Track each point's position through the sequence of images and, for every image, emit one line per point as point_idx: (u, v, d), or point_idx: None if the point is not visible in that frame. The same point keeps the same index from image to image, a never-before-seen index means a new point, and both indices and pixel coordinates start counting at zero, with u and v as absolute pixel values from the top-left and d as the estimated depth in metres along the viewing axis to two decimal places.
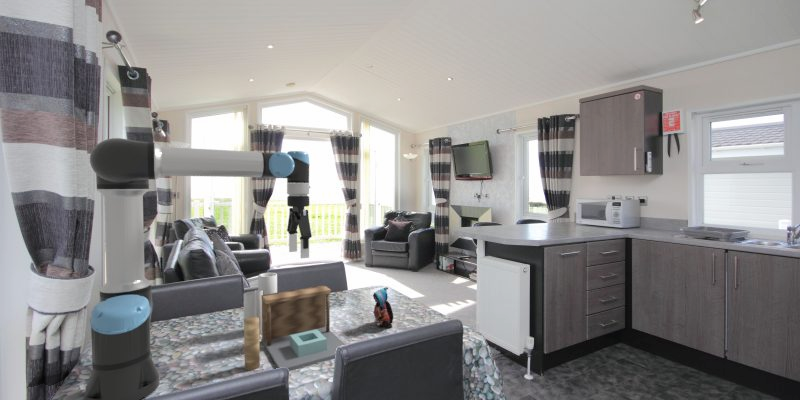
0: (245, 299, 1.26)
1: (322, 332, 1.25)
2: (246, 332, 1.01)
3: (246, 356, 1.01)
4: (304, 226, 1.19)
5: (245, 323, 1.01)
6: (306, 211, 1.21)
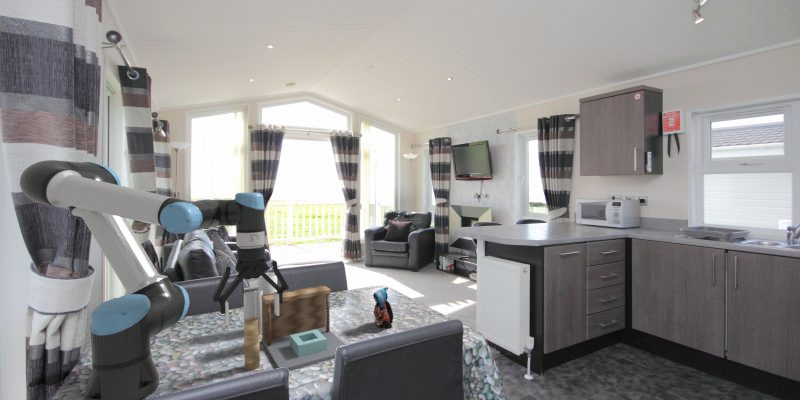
0: (245, 299, 1.26)
1: (322, 332, 1.25)
2: (246, 332, 1.01)
3: (246, 356, 1.01)
4: (218, 285, 0.98)
5: (245, 323, 1.01)
6: (225, 268, 0.98)
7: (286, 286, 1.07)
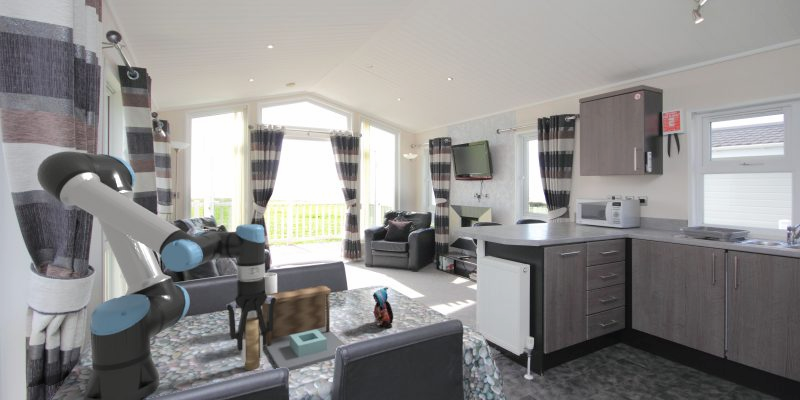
0: None
1: (322, 332, 1.25)
2: (246, 332, 1.01)
3: (246, 356, 1.01)
4: (229, 324, 1.00)
5: None
6: None
7: (271, 327, 1.05)
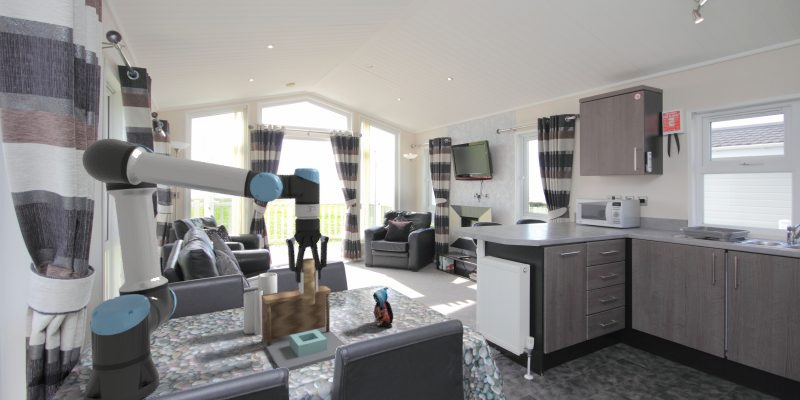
0: (245, 299, 1.26)
1: (322, 332, 1.25)
2: (304, 270, 1.11)
3: (304, 292, 1.11)
4: (289, 258, 1.10)
5: (303, 262, 1.11)
6: (287, 242, 1.08)
7: (325, 264, 1.14)
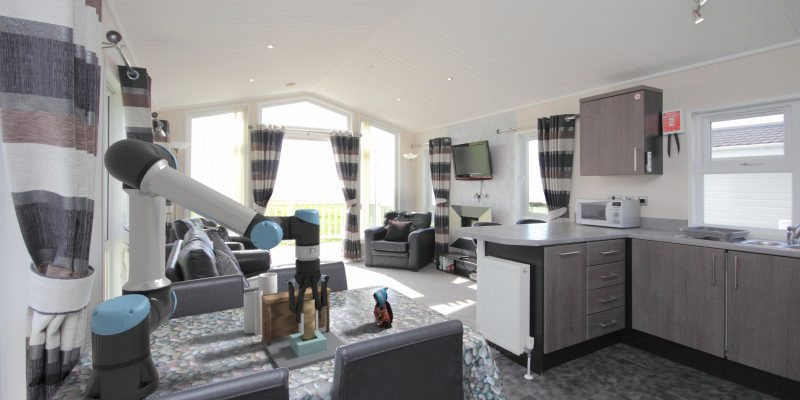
0: (245, 299, 1.26)
1: (322, 332, 1.25)
2: (304, 311, 1.11)
3: (304, 333, 1.11)
4: (289, 299, 1.10)
5: (303, 303, 1.11)
6: (287, 284, 1.09)
7: (325, 303, 1.15)
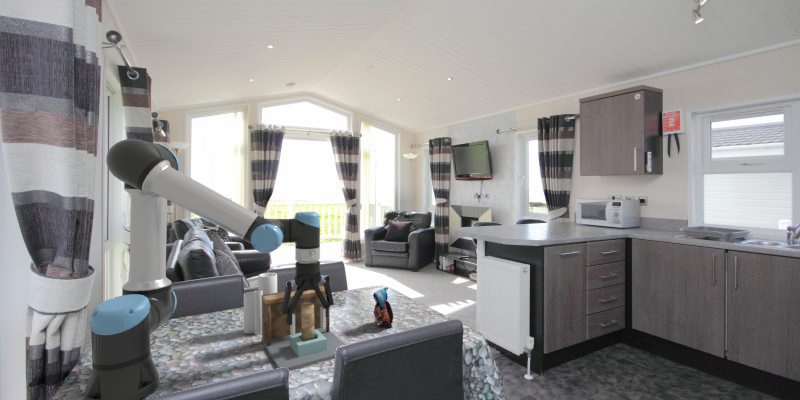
0: (245, 299, 1.26)
1: (322, 332, 1.25)
2: (303, 316, 1.11)
3: (304, 338, 1.11)
4: (283, 299, 1.09)
5: (302, 308, 1.11)
6: (286, 283, 1.08)
7: (332, 301, 1.16)
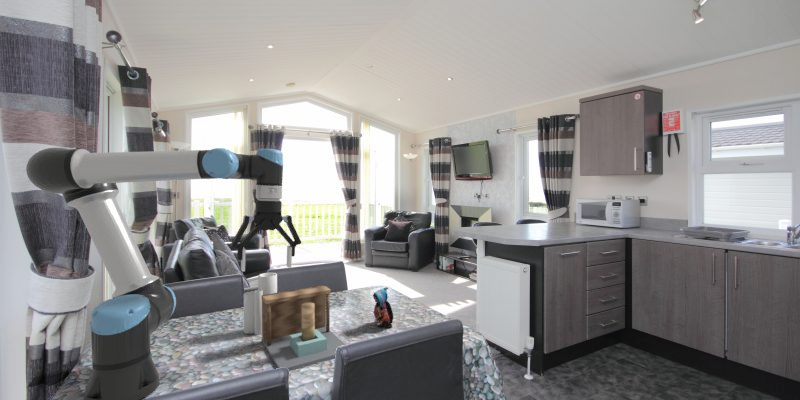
0: (245, 299, 1.26)
1: (322, 332, 1.25)
2: (304, 316, 1.11)
3: (304, 338, 1.11)
4: (237, 233, 1.05)
5: (303, 308, 1.11)
6: (244, 217, 1.05)
7: (299, 241, 1.14)
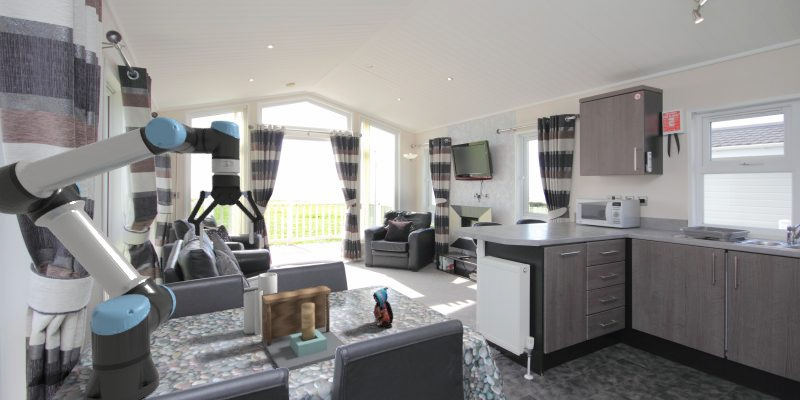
0: (245, 299, 1.26)
1: (322, 332, 1.25)
2: (304, 316, 1.11)
3: (304, 338, 1.11)
4: (193, 209, 1.02)
5: (303, 308, 1.11)
6: (200, 192, 1.02)
7: (260, 216, 1.11)
